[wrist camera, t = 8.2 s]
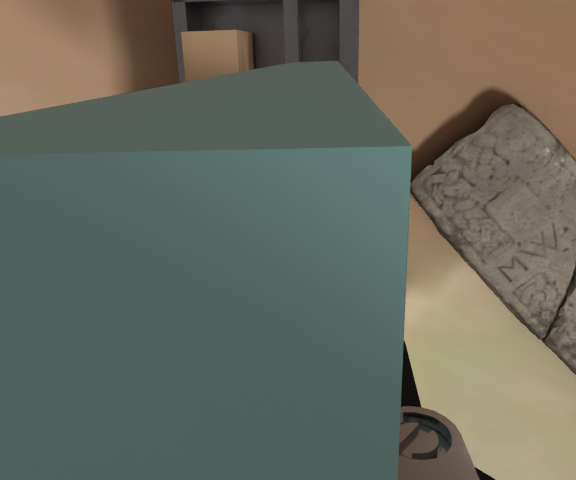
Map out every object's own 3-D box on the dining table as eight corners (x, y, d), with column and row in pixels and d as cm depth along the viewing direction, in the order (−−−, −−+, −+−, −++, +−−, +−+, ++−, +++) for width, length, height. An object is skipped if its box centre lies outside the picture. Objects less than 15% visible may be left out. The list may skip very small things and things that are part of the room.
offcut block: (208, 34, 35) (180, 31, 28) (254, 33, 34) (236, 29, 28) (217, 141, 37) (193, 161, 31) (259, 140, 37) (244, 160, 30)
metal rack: (191, -5, 35) (169, -13, 30) (358, -12, 34) (362, -22, 29) (215, 272, 42) (201, 300, 37) (355, 272, 41) (358, 301, 36)
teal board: (291, 62, 18) (-231, 156, 1) (337, 60, 18) (410, 147, 1) (300, 362, 22) (198, 1346, 5) (338, 362, 22) (358, 1375, 5)
